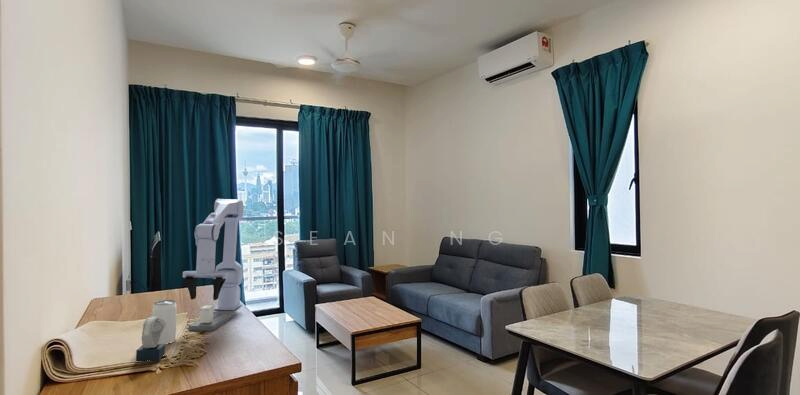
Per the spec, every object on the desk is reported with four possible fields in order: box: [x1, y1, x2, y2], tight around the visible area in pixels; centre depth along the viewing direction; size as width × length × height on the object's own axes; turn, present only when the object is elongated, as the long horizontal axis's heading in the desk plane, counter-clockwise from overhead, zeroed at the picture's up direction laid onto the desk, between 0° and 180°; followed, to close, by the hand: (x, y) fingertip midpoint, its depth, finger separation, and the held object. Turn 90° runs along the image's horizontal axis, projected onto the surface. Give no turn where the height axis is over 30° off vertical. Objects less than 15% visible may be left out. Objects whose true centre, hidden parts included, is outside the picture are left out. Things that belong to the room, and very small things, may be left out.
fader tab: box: [199, 304, 215, 323], centre depth 139 cm, size 4×3×5 cm
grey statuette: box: [135, 316, 166, 362], centre depth 110 cm, size 6×8×11 cm
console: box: [188, 311, 235, 332], centre depth 144 cm, size 18×8×2 cm, turn 1°
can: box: [151, 299, 178, 344], centre depth 123 cm, size 6×6×12 cm
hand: (204, 299), depth 139 cm, fingers open, 7 cm apart
